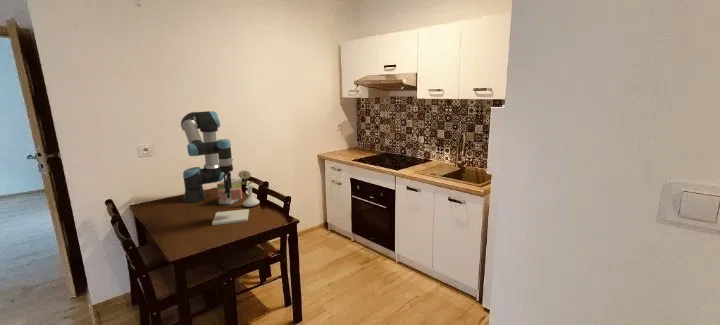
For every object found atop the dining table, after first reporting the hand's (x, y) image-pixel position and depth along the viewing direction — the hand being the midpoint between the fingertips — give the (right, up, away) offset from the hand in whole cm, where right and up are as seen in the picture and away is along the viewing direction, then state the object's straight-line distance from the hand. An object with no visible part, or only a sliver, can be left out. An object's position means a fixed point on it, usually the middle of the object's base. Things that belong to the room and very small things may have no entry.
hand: (229, 201), depth 205 cm
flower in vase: (+4, -6, +25) cm, 26 cm away
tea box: (-13, -4, +35) cm, 37 cm away
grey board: (0, -11, +3) cm, 11 cm away
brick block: (+7, +5, +1) cm, 8 cm away
